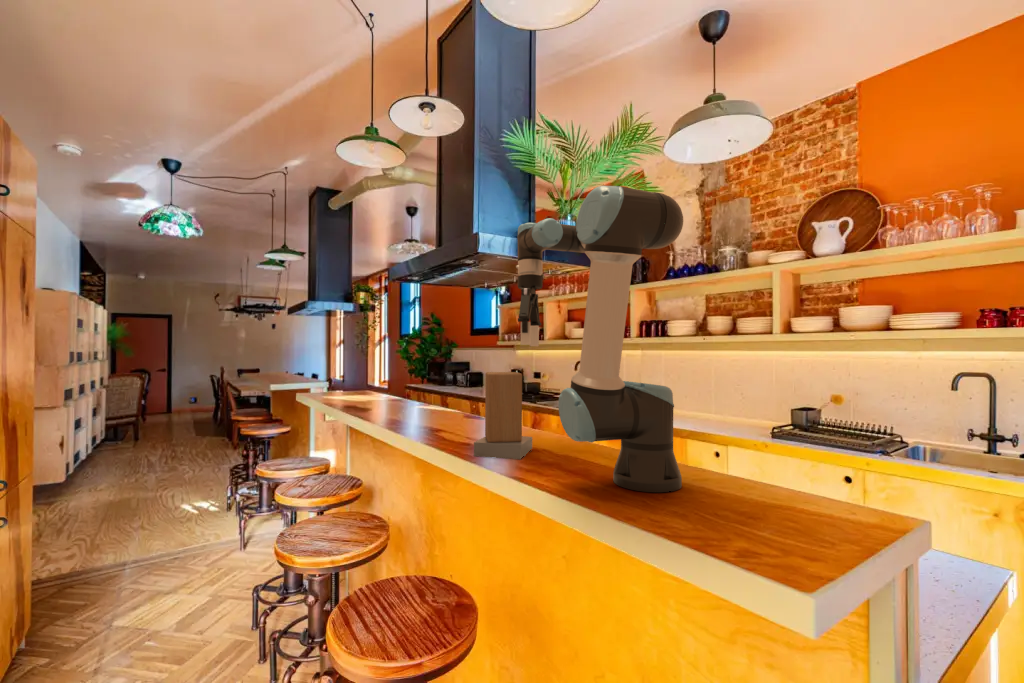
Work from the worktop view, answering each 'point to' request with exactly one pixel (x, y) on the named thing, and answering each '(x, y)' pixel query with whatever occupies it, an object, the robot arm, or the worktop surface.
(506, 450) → the grey flat square block
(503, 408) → the wooden block
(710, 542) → the worktop surface
